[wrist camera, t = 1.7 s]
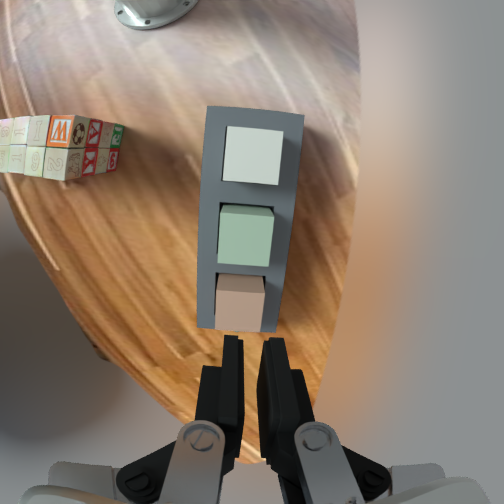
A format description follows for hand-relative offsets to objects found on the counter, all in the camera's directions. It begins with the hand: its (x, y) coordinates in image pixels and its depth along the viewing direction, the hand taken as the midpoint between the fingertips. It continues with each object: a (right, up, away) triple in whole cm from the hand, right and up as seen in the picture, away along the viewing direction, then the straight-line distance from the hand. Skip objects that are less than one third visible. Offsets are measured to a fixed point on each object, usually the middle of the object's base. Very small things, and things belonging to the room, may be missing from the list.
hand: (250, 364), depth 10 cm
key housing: (-1, +9, +24) cm, 25 cm away
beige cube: (-1, 0, +23) cm, 23 cm away
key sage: (-1, +7, +20) cm, 22 cm away
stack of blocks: (-27, +20, +19) cm, 39 cm away
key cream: (0, +15, +18) cm, 23 cm away
